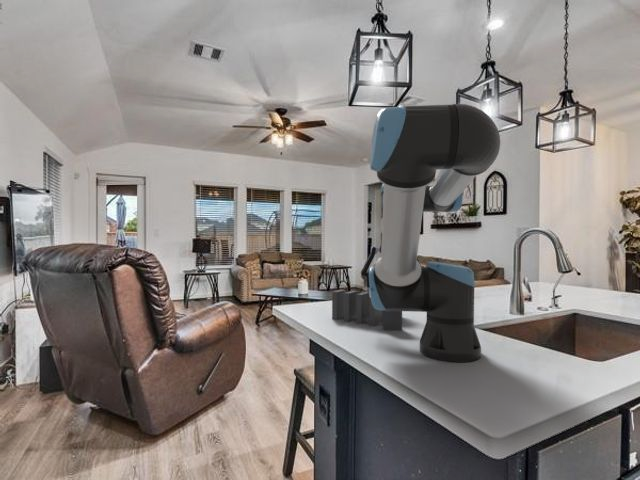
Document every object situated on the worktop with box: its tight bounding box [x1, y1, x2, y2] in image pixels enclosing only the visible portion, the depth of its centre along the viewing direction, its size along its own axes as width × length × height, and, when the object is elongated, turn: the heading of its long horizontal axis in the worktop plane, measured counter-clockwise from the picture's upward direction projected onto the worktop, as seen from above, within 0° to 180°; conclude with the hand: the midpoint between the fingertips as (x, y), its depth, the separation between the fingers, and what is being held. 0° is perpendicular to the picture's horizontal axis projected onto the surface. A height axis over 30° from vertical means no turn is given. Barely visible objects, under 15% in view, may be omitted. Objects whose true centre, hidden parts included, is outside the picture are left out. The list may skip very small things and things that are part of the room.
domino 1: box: [331, 288, 347, 321], centre depth 134 cm, size 2×6×10 cm, turn 145°
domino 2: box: [343, 290, 359, 323], centre depth 131 cm, size 2×6×10 cm, turn 144°
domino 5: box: [381, 310, 403, 331], centre depth 118 cm, size 2×6×10 cm, turn 91°
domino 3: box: [355, 291, 369, 325], centre depth 128 cm, size 2×6×10 cm, turn 145°
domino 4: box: [368, 297, 382, 327], centre depth 125 cm, size 2×6×10 cm, turn 145°
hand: (392, 297), depth 118 cm, fingers open, 13 cm apart
